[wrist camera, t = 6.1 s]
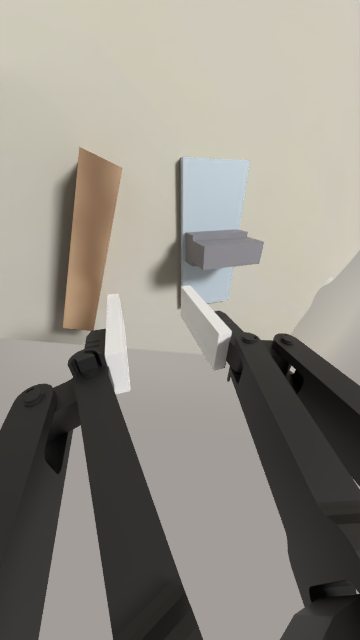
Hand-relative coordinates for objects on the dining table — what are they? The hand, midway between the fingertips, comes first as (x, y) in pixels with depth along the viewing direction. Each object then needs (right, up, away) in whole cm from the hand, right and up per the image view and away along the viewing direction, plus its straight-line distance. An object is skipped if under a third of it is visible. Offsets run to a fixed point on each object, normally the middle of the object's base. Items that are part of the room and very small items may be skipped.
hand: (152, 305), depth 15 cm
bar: (-11, +9, +12) cm, 19 cm away
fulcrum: (+7, +12, +17) cm, 22 cm away
